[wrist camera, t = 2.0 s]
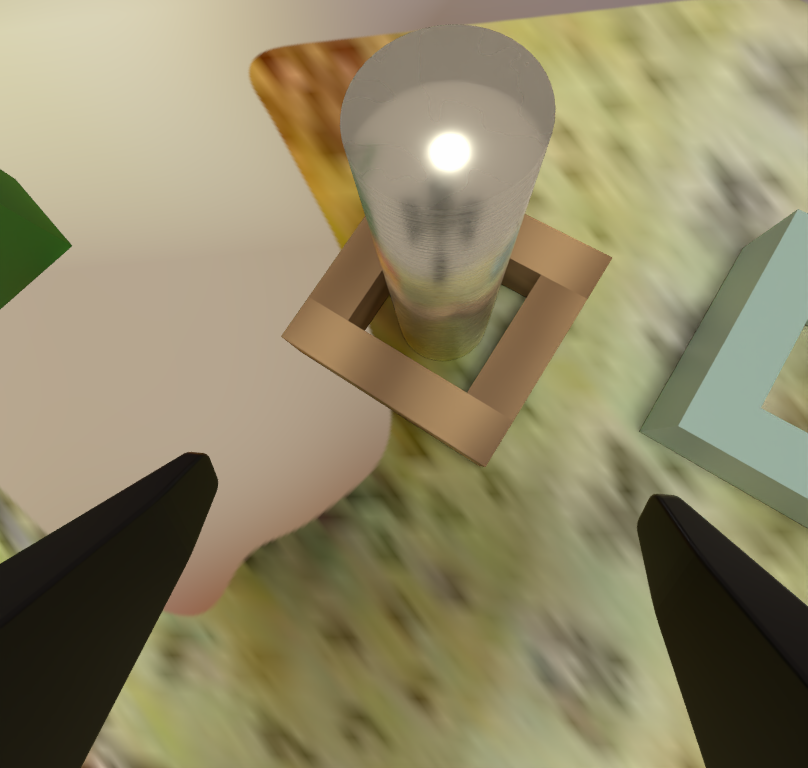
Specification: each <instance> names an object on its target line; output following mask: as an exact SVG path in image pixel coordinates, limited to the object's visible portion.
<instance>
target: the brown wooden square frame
mask: <svg viewBox="0 0 808 768" xmlns="http://www.w3.org/2000/svg"><path fill="white" fill-rule="evenodd" d="M611 259H612V257H610V256H608V255H606V254H604V253H602V252H600V251H598V250H596V249H594V248H592V247H590V246H588V245H586V244H584V243H582V242H580V241H578V240H576V239H574V238H572V237H570V236H568V235H566V234H564V233H562V232H560V231H558V230H556V229H554V228H552V227H550V226H548V225H546V224H544V223H542V222H540V221H538V220H536V219H534V218H532V217H530V216H528V215H526V214H525V215H524V218H523V221H522V224H521V227H520V230H519V233H518V236H517V239H516V242H515V245H514V247H513V250H512V253H511V256H510V259H509V262H508V265H507V268H506V271H505V274H504V277H503V280H502V283H501V284H502V285H504V286H506V287H508V288H510V289H512V290H514V291H515V292H517V293H519V294H521V295H523V296H525V297H527V298H526V300H525V301H524V303H523V304H522V306H521V307H520V309H519V311H518V312H517V314H516V315H515V317H514V319H513V320H512V322H511V323H510V325H509V327H508V328H507V330H506V331H505V333H504V335H503V336H502V338H501V339H500V341H499V343H498V344H497V346H496V347H495V349H494V351H493V352H492V354H491V355H490V357H489V359H488V360H487V362H486V363H485V365H484V367H483V368H482V370H481V371H480V373H479V374H478V376H477V378H476V379H475V381H474V382H473V384H472V386H471V387H470V389H469V390H468V392H467V393H466V392H465V391H463V390H461V389H460V388H458V387H457V386H455V385H453V384H452V383H450V382H448V381H447V380H445V379H443V378H442V377H440V376H438V375H437V374H435V373H433V372H432V371H430V370H428V369H427V368H425V367H424V366H422V365H420V364H419V363H417V362H415V361H414V360H412V359H410V358H409V357H407V356H405V355H404V354H402V353H400V352H399V351H397V350H395V349H394V348H392V347H390V346H389V345H387V344H386V343H384V342H382V341H381V340H379V339H377V338H376V337H374V336H372V335H371V334H369V333H367V332H366V331H365V329H366V328H367V327H368V325H369V324H370V322H371V321H372V319H373V318H374V316H375V315H376V313H377V312H378V310H379V309H380V307H381V306H382V304H383V303H384V301H385V300H386V298H387V297H388V295H389V294H390V293H389V290H388V286H387V283H386V280H385V277H384V274H383V270H382V267H381V264H380V261H379V257H378V254H377V251H376V248H375V245H374V241H373V238H372V235H371V232H370V229H369V225H368V222H367V219H366V216H365V217H364V218H363V220H362V221H361V223H360V224H359V226H358V227H357V229H356V230H355V231H354V233H353V234H352V236H351V237H350V239H349V240H348V241H347V243H346V244H345V246H344V247H343V249H342V250H341V251H340V253H339V254H338V256H337V257H336V259H335V260H334V261H333V263H332V264H331V266H330V267H329V269H328V270H327V272H326V273H325V275H324V276H323V277H322V279H321V280H320V281H319V283H318V284H317V286H316V287H315V289H314V290H313V292H312V293H311V295H310V296H309V297H308V299H307V300H306V301H305V303H304V305H303V306H302V307H301V309H300V310H299V312H298V313H297V314H296V316H295V317H294V319H293V320H292V322H291V323H290V324H289V326H288V327H287V329H286V330H285V332H284V333H283V335H282V336H281V337H282V338H284V339H285V340H286V341H287V342H289V343H290V344H291V345H293V346H294V347H295V348H297V349H298V350H299V351H300V352H302V353H303V354H305V355H307V356H308V357H310V358H311V359H313V360H315V361H316V362H317V363H319V364H321V365H322V366H324V367H325V368H327V369H329V370H330V371H332V372H333V373H335V374H337V375H338V376H340V377H341V378H343V379H344V380H346V381H347V382H349V383H350V384H352V385H354V386H355V387H357V388H358V389H360V390H361V391H363V392H365V393H366V394H368V395H369V396H371V397H372V398H374V399H375V400H377V401H378V402H380V403H382V404H383V405H385V406H386V407H388V408H389V409H391V410H393V411H394V412H396V413H397V414H399V415H400V416H402V417H404V418H405V419H407V420H408V421H410V422H411V423H413V424H414V425H416V426H418V427H419V428H421V429H422V430H424V431H425V432H427V433H429V434H430V435H432V436H433V437H435V438H436V439H438V440H439V441H441V442H443V443H444V444H446V445H447V446H449V447H450V448H452V449H454V450H455V451H457V452H458V453H460V454H461V455H463V456H465V457H466V458H468V459H469V460H471V461H472V462H474V463H475V464H477V465H479V466H482V467H486V465H487V464H488V462H489V460H490V459H491V457H492V455H493V454H494V452H495V450H496V449H497V447H498V446H499V444H500V442H501V441H502V439H503V437H504V436H505V434H506V432H507V431H508V429H509V427H510V426H511V424H512V422H513V421H514V419H515V417H516V416H517V414H518V413H519V411H520V409H521V408H522V406H523V404H524V403H525V401H526V399H527V398H528V396H529V394H530V393H531V391H532V389H533V388H534V386H535V385H536V383H537V381H538V380H539V378H540V376H541V375H542V373H543V371H544V370H545V368H546V366H547V365H548V363H549V361H550V360H551V358H552V356H553V355H554V353H555V352H556V350H557V348H558V347H559V345H560V343H561V342H562V340H563V338H564V337H565V335H566V333H567V332H568V330H569V328H570V327H571V325H572V324H573V322H574V320H575V319H576V317H577V315H578V314H579V312H580V310H581V309H582V307H583V305H584V304H585V302H586V300H587V299H588V297H589V295H590V294H591V292H592V291H593V289H594V287H595V286H596V284H597V282H598V281H599V279H600V277H601V276H602V274H603V272H604V271H605V269H606V267H607V266H608V264H609V263H610V261H611Z"/></svg>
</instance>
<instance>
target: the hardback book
mask: <svg viewBox="0 0 808 768" xmlns="http://www.w3.org/2000/svg"><path fill="white" fill-rule="evenodd" d="M71 246H72V245H71V244H70V243H69V241H68V240H67V239H66V238H65V237H64V236H63V235H62V234H61V232H60V231H59V230H58V229H57V227H56V226H55V225H54V224H53V223H52V222H51V221H50V219H49V218H48V217H47V216H46V215H45V214H44V212H43V211H42V210H41V209H40V207H39V206H38V205H37V204H36V203H35V202H34V201H33V200H32V198H31V197H30V196H29V195H28V193H27V192H26V191H25V190H24V189H23V188H22V186H21V185H20V184H19V183H18V182H17V181H16V180H15V179H14V178H13V177H11V176H10V175H8V174H7V173H5V172H4V171H2V170H0V309H1V308H2V307H4V305H6V304H7V303H8V302H9V301H10V300H11V299H13V298H14V297H15V296H16V295H17V294H18V293H19V292H20V291H22V290H23V289H24V288H25V287H26V286H27V285H28V284H30V283H31V282H32V281H33V280H34V279H35V278H36V277H38V276H39V275H40V274H41V273H42V272H43V271H44V270H45V269H47V268H48V267H49V266H50V265H51V264H52V263H54V262H55V260H57V259H58V258H59V257H60V256H61V255H63V254H64V253H65V252H66V251H67V250H68V249H69V248H70V247H71Z"/></svg>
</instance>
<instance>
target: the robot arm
mask: <svg viewBox="0 0 808 768" xmlns="http://www.w3.org/2000/svg"><path fill="white" fill-rule="evenodd" d="M217 488H218V479H217V476H216V473H215V471H214V468H213V465H212V463H211V460H210V458H209V456H208V455H207V454H204V453H196V452H187V453H184V454H183V455H181V456H179V457H177V458H176V459H174V460H172V461H171V462H169V463H167V464H166V465H164V466H162V467H161V468H159V469H158V470H156V471H154V472H153V473H151V474H149V475H148V476H146V477H144V478H142V479H141V480H139V481H137V482H136V483H134V484H133V485H131V486H129V487H127V488H126V489H124V490H122V491H121V492H119V493H117V494H116V495H114V496H112V497H111V498H109V499H107V500H106V501H104V502H102V503H101V504H99V505H97V506H96V507H94V508H92V509H91V510H89V511H88V512H86V513H84V514H82V515H81V516H79V517H78V518H76V519H74V520H72V521H71V522H69V523H67V524H66V525H64V526H62V527H61V528H59V529H57V530H56V531H54V532H52V533H51V534H49V535H47V536H46V537H44V538H42V539H41V540H39V541H37V542H36V543H34V544H32V545H31V546H29V547H27V548H26V549H24V550H22V551H21V552H19V553H17V554H16V555H14V556H12V557H11V558H9V559H7V560H6V561H4V562H2V563H1V564H0V768H81V767H82V765H83V763H84V761H85V759H86V757H87V755H88V753H89V751H90V749H91V747H92V746H93V744H94V742H95V740H96V738H97V736H98V734H99V732H100V730H101V728H102V726H103V724H104V722H105V720H106V719H107V717H108V715H109V713H110V711H111V709H112V707H113V705H114V703H115V701H116V699H117V697H118V695H119V693H120V692H121V690H122V688H123V686H124V684H125V682H126V680H127V678H128V676H129V674H130V672H131V670H132V668H133V666H134V665H135V663H136V661H137V659H138V657H139V655H140V653H141V651H142V649H143V647H144V645H145V643H146V641H147V640H148V638H149V636H150V634H151V632H152V630H153V628H154V626H155V624H156V622H157V620H158V618H159V616H160V614H161V613H162V611H163V609H164V607H165V605H166V603H167V601H168V599H169V597H170V595H171V593H172V591H173V589H174V587H175V586H176V584H177V582H178V580H179V578H180V576H181V574H182V572H183V570H184V568H185V566H186V564H187V562H188V560H189V558H190V556H191V554H192V551H193V549H194V547H195V544H196V542H197V539H198V537H199V534H200V532H201V529H202V527H203V524H204V522H205V519H206V517H207V514H208V512H209V509H210V507H211V504H212V502H213V499H214V497H215V494H216V492H217ZM637 532H638V537H639V542H640V546H641V551H642V556H643V560H644V565H645V570H646V574H647V579H648V584H649V588H650V593H651V598H652V602H653V606H654V610H655V614H656V617H657V620H658V624H659V627H660V630H661V633H662V636H663V639H664V642H665V645H666V648H667V651H668V654H669V657H670V660H671V663H672V666H673V669H674V672H675V675H676V678H677V682H678V685H679V688H680V691H681V694H682V697H683V700H684V703H685V706H686V709H687V712H688V715H689V718H690V721H691V724H692V727H693V730H694V733H695V736H696V739H697V742H698V745H699V748H700V751H701V754H702V757H703V760H704V763H705V767H706V768H808V606H807V605H806V604H804V603H803V602H802V601H801V600H800V599H799V598H797V597H796V596H795V595H794V594H793V593H792V592H790V591H789V590H788V589H787V588H786V587H784V586H783V585H782V584H781V583H780V582H779V581H777V580H776V579H775V578H774V577H773V576H772V575H770V574H769V573H768V572H767V571H766V570H764V569H763V568H762V567H761V566H760V565H759V564H757V563H756V562H755V561H754V560H753V559H752V558H750V557H749V556H748V555H747V554H746V553H744V552H743V551H742V550H741V549H740V548H739V547H737V546H736V545H735V544H734V543H733V542H731V541H730V540H729V539H728V538H727V537H726V536H724V535H723V534H722V533H721V532H720V531H719V530H717V529H716V528H715V527H714V526H713V525H711V524H710V523H709V522H708V521H707V520H706V519H704V518H703V517H702V516H701V515H700V514H699V513H697V512H696V511H695V510H694V509H693V508H691V507H690V506H689V505H688V504H687V503H686V502H684V501H683V500H682V499H681V498H679V497H677V496H674V495H665V494H653V495H652V496H650V498H649V500H648V502H647V504H646V506H645V508H644V509H643V511H642V513H641V515H640V517H639V519H638V523H637Z"/></svg>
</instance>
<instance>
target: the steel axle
mask: <svg viewBox="0 0 808 768" xmlns="http://www.w3.org/2000/svg"><path fill="white" fill-rule="evenodd" d="M554 122H555V99H554V94H553V90H552V86H551V83H550V81H549V79H548V76H547V74H546V72H545V71H544V69H543V68H542V66H541V64H540V63H539V62H538V61H537V59H536V58H535V57H534V56H533V55H532V54H531V53H530V52H529V51H528V50H527V49H526V48H524V47H523V46H522V45H520V44H519V43H517V42H516V41H514V40H513V39H511V38H509V37H507V36H505V35H503V34H501V33H498V32H496V31H493V30H490V29H486V28H482V27H477V26H470V25H440V26H433V27H429V28H424V29H420V30H417V31H414V32H411V33H408V34H406V35H404V36H402V37H399V38H397V39H395V40H394V41H392V42H390V43H389V44H387V45H385V46H384V47H383V48H381V49H380V50H379V51H377V52H376V53H375V54H374V55H373V56H372V57H371V58H369V59H368V60H367V61H366V62H365V64H364V65H363V66H362V67H361V68H360V70H359V71H358V72H357V74H356V75H355V77H354V78H353V80H352V81H351V83H350V85H349V88H348V90H347V92H346V94H345V98H344V101H343V104H342V110H341V116H340V129H341V137H342V141H343V145H344V148H345V152H346V155H347V158H348V161H349V164H350V168H351V171H352V174H353V177H354V180H355V184H356V187H357V190H358V193H359V197H360V200H361V203H362V206H363V209H364V213H365V216H366V219H367V222H368V225H369V229H370V232H371V235H372V238H373V241H374V245H375V248H376V251H377V254H378V257H379V261H380V264H381V267H382V270H383V274H384V277H385V280H386V283H387V286H388V290H389V293H390V296H391V299H392V302H393V306H394V309H395V312H396V315H397V318H398V322H399V325H400V328H401V331H402V334H403V337H404V339H405V340H406V342H407V343H408V345H409V346H410V347H411V348H412V349H413V350H414V351H415V352H417V353H418V354H420V355H421V356H423V357H426V358H428V359H432V360H437V361H449V360H454V359H458V358H460V357H462V356H465V355H466V354H468V353H469V352H471V351H472V350H473V349H474V348H475V347H476V346H477V345H478V344H479V342H480V341H481V339H482V338H483V336H484V333H485V330H486V328H487V325H488V322H489V319H490V316H491V313H492V310H493V307H494V304H495V301H496V298H497V295H498V292H499V289H500V286H501V283H502V280H503V277H504V274H505V271H506V268H507V265H508V262H509V259H510V256H511V253H512V250H513V247H514V245H515V242H516V239H517V236H518V233H519V230H520V227H521V224H522V221H523V218H524V215H525V212H526V209H527V206H528V203H529V200H530V197H531V194H532V191H533V188H534V185H535V182H536V179H537V176H538V173H539V170H540V167H541V164H542V161H543V159H544V156H545V153H546V150H547V147H548V144H549V141H550V138H551V135H552V131H553V126H554Z"/></svg>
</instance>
